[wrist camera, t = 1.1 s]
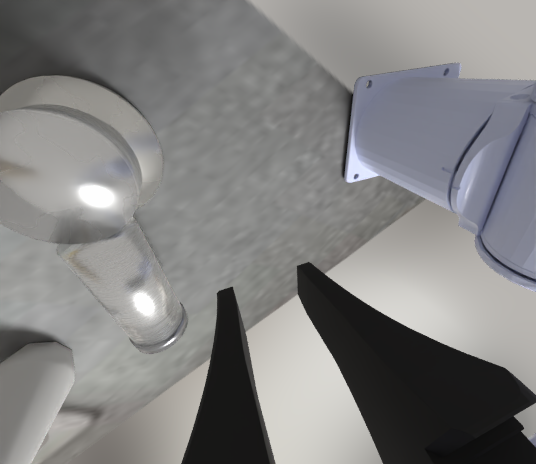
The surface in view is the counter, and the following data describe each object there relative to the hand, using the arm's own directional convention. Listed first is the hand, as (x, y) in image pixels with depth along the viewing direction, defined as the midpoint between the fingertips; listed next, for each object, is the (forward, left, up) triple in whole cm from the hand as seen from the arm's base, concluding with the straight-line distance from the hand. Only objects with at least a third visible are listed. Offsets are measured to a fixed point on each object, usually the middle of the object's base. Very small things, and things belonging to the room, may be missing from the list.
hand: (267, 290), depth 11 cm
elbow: (+8, 0, -8) cm, 11 cm away
